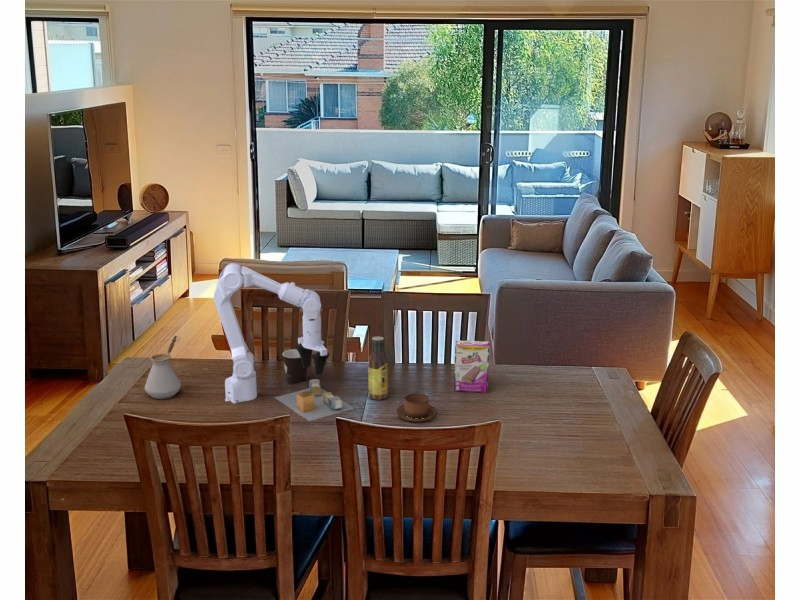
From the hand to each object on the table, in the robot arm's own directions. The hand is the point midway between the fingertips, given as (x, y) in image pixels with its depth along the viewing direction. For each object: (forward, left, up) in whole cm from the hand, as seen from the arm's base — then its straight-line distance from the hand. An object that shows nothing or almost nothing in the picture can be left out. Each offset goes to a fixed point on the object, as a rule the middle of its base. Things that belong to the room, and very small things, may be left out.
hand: (313, 370), depth 280 cm
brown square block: (-8, -10, -8) cm, 15 cm away
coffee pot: (-35, +34, -9) cm, 50 cm away
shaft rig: (0, -7, -8) cm, 10 cm away
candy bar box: (+45, -25, -9) cm, 52 cm away
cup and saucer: (+18, -31, -10) cm, 37 cm away
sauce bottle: (+17, -12, -9) cm, 23 cm away
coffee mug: (+3, +16, -9) cm, 19 cm away
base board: (-4, -7, -9) cm, 12 cm away
